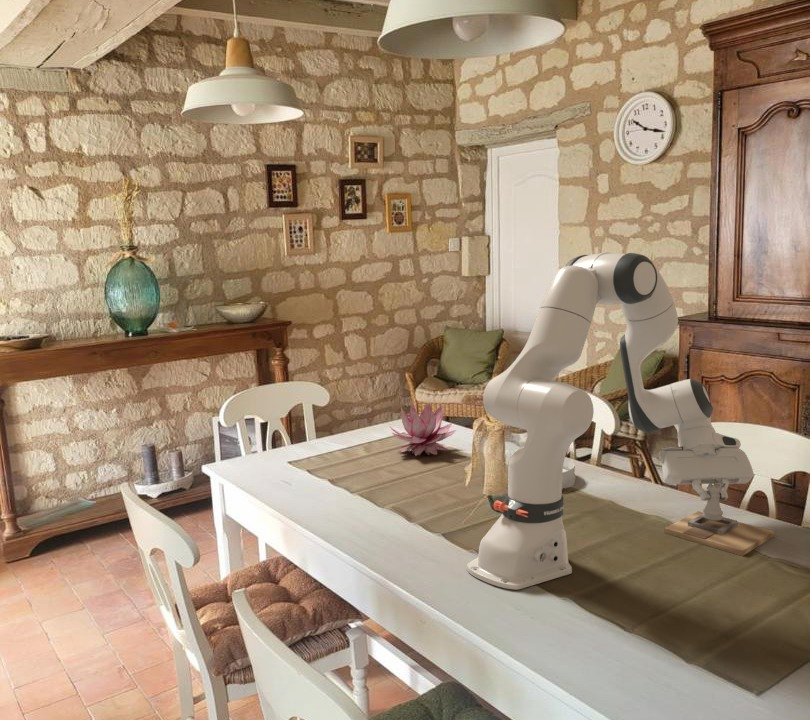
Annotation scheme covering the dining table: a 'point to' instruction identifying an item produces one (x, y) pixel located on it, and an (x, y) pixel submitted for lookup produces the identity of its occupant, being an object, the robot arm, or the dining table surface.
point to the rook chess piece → (713, 504)
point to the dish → (568, 473)
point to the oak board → (720, 533)
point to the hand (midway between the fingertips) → (714, 499)
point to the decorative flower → (424, 430)
